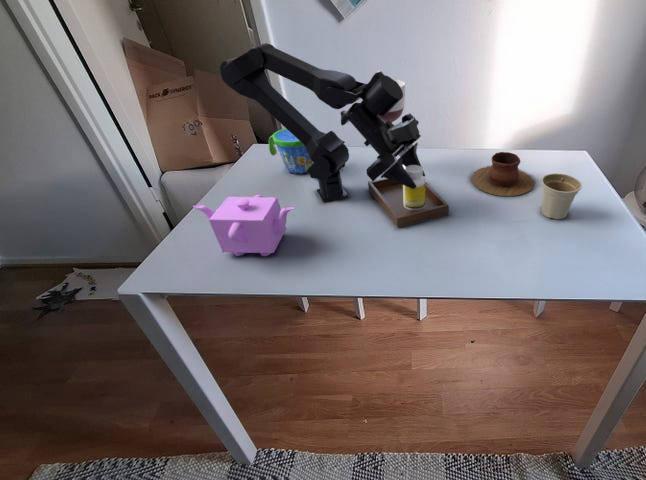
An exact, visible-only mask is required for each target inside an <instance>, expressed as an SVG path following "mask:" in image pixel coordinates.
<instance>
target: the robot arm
mask: <svg viewBox="0 0 646 480" xmlns="http://www.w3.org/2000/svg"><path fill="white" fill-rule="evenodd" d="M267 70H268V71H269V72H272V73H274V74H277V75H278V76H281V77H282V78H285V79H287V80H289V81H291V82H293V83H296V84H297V85H300V86H302V87H304V88H306V89H308V90H309V91H311V92H313V93H314V94H315V95H316V97H317V99H318V100H319V101H321V102H322V103H324V104H326V105H327V106H329V107H330V108H332V109H334V110H340V109H343V108H345V107H347V106H348V105H351V106H350V107H349V108H348V109H343V110H342V111H340V117H341V118H340V125H341V126H345V125H346V124H348V123H351V125H352V126H353V127H354V128H355V129H356V130H357V131H358V132H359V134H360V135H361V136H362V137H363V138H364V139H365V141H364V142H363V144H364V146H366V147H368V146H371V148H372V149H373V150H374V151H375V152H376V153H377V154H378V156H377V157H376V160H374V161H373V162H372V163H371V164H370V166H368V167H367V168H366V176H367V177H368V178H369V179H370V181H374V180H377V178H379V177H380V179H384V178H387V179H390V180H393V181H396V182H398V183H400V184H402V185H405V186H407V187H409V188H411V189H414V188H416V185H415V183H414V181H413V180H412V179H411V177H410V176H409V175H408V173H407V172H406V171H405V169H404V168H403V165H404V166H406V167H407V166H409V165H418V166H421V167H422V164H421V162H420V160H419V156H418V154H417V149H418V146H419V143H418V142H416V141H418V140H419V139H420V138H421V136H422V135H421V134H420V130H419V127H418V125H419V123H420V122H419V120H417V119H416V117H415V116H414V115H412V114H411V113H410V112H409V113H407V114H404V115H403V116H401V121H400V122H399V123H397V124H393V122H392V123H391V122H390V121H387V122H386V123H385V122H384V121H383V119H382V118H381V117H380V116H379V115H381V116H385V115H386V114H387V113H388V112H389V111H390V110H391V109H392V108H393V107H394V106H395V105H396V104H397V103H398V102H399V101H400V100H401V99H402V97H403V92H402V89H401V87H400V86H399V84H398V83H397V82H396V81H394V80H393V79H394V78H392V77H390V76H388V75H385V74H384V73H383V72H382V71H381V70H379V71H377V72H375V73H374V74H373V75H372V76H371V78H370V80H369V82H368V83H366V82H363V81H360V80H356V78H355V77H354V76H353V75H351V74H348V73H346V72H342V71H338V70H332V69H331V70H330V69H323V68H319V67H317V66H315V65H313V64H312V63H308V62H306V61H304V60H302V59H299V58H297V57H296V56H294V55H291V54H289V53H287V52H285V51H283V50H280V49H278V48H276V46H274V45H272V44H270V43H267V42H265V43H261V44H257V45H253V46H252V47H251V48H250V49H249V50H248V51H245V53H243V54H241V55H239V56H236V57H232V58H230V59H226V60H224V61H221V63H220V66H219V71H220V77H221V80H222V81H223V82H224V84H225V85H226V86H227V87H229V88H230V89H231V90H233V91H234V92H235V93H237V94H239V95H240V96H243V97H245V98H248V99H250V100H254V102H257V104H259V105H260V106H261V107H262V108H263V109H264V110H266V111H267V113H269V114H270V116H272V117H273V118H274V119H275V120H276V121H277V122H279V123H280V125H282V126H283V127H284V129H287V130H289V131H290V132H291V133H292V134H293V135H294V136H295V137H296V138H297V139H298V140H299V141H300V142H302V143H303V144H304V145H305V146H306V149H307V151H308V154H309V157H310V159H311V160H312V161H313V162H314V163H313V164H312V165H311V166H310V167H309V169H308V170H307V171H308V172H307V174H308V175H309V177H310V179H314V180H317V183H318V187H319V188H316V193H317V194H318V196H319V198H320V200H321V201H322V202H323V203H326V202H331V201H334V200H339V199H343V198H344V199H345V198H347V197H348V193H347V191H346V190H345V189H344V187H343V181H342V176H341V170H342V169H343V168H345V167H346V163H347V162H348V161H349V159H350V153H349V148H348V147H347V146H346V144H345V143H346V141H344V140H343V139H341V138H340V137H339V136H338V135H337V134H336V132H334V131H333V130H329V131H328V132H323V131H321V130H319V128H317V127H316V126H315V125H314V124H313V123H312V122H310V121H309V120H308V118H306V117H305V116H304V115H303V114H302V113H301V111H299V110H298V109H297V108H296V107H295V106H293V104H292V103H290V101H288V100H287V99H286V98H285V97H284V96H283V95H282V94H281V93H280V92H279V91H278V90H277V89H276V88H274V86H272V84H271V82H270V79H269V76H268V75H267V72H266V71H267ZM359 100H361V102H358V101H359ZM415 142H416V143H415ZM398 156H399V158H398V159H397V157H398ZM422 168H423V167H422ZM423 176H424V177H426V173H425V171H424V170H423Z"/></svg>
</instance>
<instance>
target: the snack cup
mask: <svg viewBox="0 0 646 480" xmlns="http://www.w3.org/2000/svg"><path fill="white" fill-rule="evenodd" d="M275 145H276V146H275ZM276 147H277V148H276ZM268 150H269V153H270V155H271V156H276V155H277V152H278V154H279V155H280V157H281V160H282V162H283V165H284V167H285V169H286V170H287V172H288V173H292V174H301V175H303V174H304V173H308V171H307V170H308V169H309V167H310V166H311V165H312V164H313V163H314V162H313V161H312V160H311V159H310V157H309V154H308V151H307V149H306V146H305V145H304V144H303V143H302V142H300V141H299V140H298V139H297V138H296V137H295V136H294V135H293V134H292V133H291V132H290V131H289V130H287V129H286V128H282V129H280V130H277V131H275V132H273V134H272V135H271V136H269V138H268ZM277 150H278V151H277Z"/></svg>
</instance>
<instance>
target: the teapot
mask: <svg viewBox="0 0 646 480" xmlns="http://www.w3.org/2000/svg"><path fill="white" fill-rule="evenodd" d="M192 207H193V208H194V209H196V210H199V211H201V212H202V213H204V215H205V216H206V217H207V219H208V222H209V224H210V226H211V229H212V231H213V233H214V235H215V238H216V240H217V243H218V244H219V247H220V250H221V252H222V253H234V255H235V256H239V257H240V256H244V255H245V254H248V253H249V254H250V253H251V254H252V253H253V254H260V256H262V257H267V256H269V255H271V254H274V253H275V252H276V250H277V247H278V245H279V243H281V240H282V238H283V236H284V234H285V233H286V230H287V217H288V213H289V212H290V211H292V210H294V209H295V208H296V207H294V206H285V207H283V208H282V209H281V206H280V202H279V198H278V197H263V195H262V194H255V195H254V196H227V197H226V198H225V199H224V201H223V202H222V203H221V204H220V206H219V207H218V208H217V209H216V210H215V211H214V210H212V209H211V208H210V207H208V206H207V205H203V204H194V205H192Z"/></svg>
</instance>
